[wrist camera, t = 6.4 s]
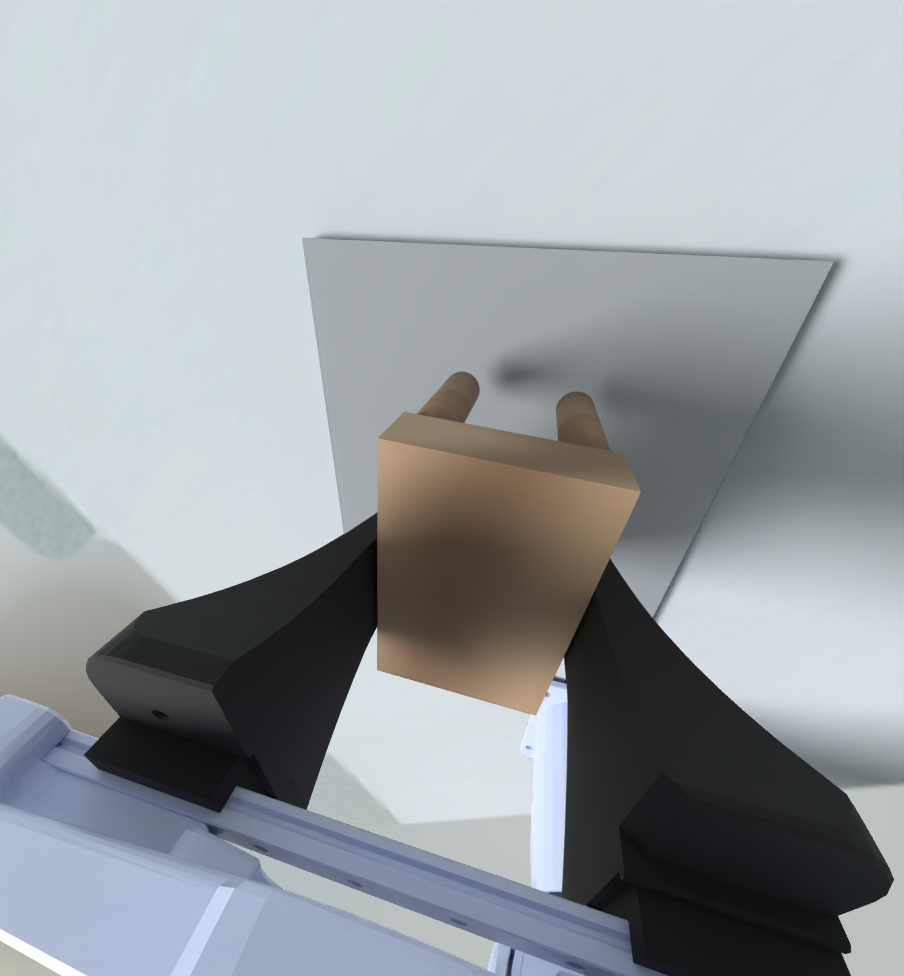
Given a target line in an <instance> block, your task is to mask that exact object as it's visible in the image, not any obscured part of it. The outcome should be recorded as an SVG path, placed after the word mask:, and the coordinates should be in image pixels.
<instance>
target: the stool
mask: <svg viewBox="0 0 904 976" xmlns="http://www.w3.org/2000/svg"><path fill="white" fill-rule="evenodd" d="M479 393H480V387H479V383H478V381H477V379H476V378H475V377H474V376H473V375H471V374H470V373H467V372H456V373H454V374H452V375H451V376H450V377H449V378H448V379H447V380H446V381H445V383H444V384H443V385H442V386H441V387H440V388H439V389H438V390H437V391H436V393H435V394H434V395H433V396H432V397H431V398H430V399H429V400H428V401H427V403H426V404H425V405H424V406H423V407H422V408H421V409H420V410H419V411H418V413H417V414H414V413H409V412H403V413H402V414H401V415H400V416H399V417H398V418H397V419H396V420H395V421H394V422H393V423H392V424H391V425H390V426H389V427H388V428H387V429H386V430H385V431H384V432H383V433H382V434H381V435H380V436H379V437H378V519H377V670H379V671H382V672H386V673H389V674H393V675H396V676H400V677H403V678H407V679H410V680H414V681H417V682H420V683H424V684H427V685H431V686H434V687H438V688H441V689H445V690H448V691H452V692H455V693H459V694H462V695H466V696H469V697H472V698H476V699H479V700H483V701H486V702H490V703H493V704H497V705H500V706H504V707H507V708H511V709H514V710H517V711H521V712H524V713H528V714H531V715H535V716H536V715H537V713H538V710H539V708H540V706H541V704H542V702H543V700H544V698H545V696H546V693H547V691H548V689H549V687H550V685H551V683H552V681H553V678H554V676H555V674H556V672H557V670H558V668H559V666H560V664H561V661H562V659H563V657H564V655H565V653H566V651H567V649H568V646H569V644H570V642H571V640H572V638H573V636H574V634H575V632H576V629H577V627H578V625H579V623H580V621H581V619H582V617H583V615H584V612H585V610H586V608H587V606H588V604H589V602H590V600H591V597H592V595H593V593H594V591H595V589H596V587H597V585H598V583H599V580H600V578H601V576H602V574H603V572H604V570H605V568H606V566H607V563H608V561H609V559H610V557H611V555H612V553H613V551H614V548H615V546H616V544H617V542H618V540H619V538H620V536H621V534H622V531H623V529H624V527H625V525H626V523H627V521H628V519H629V516H630V514H631V512H632V510H633V508H634V506H635V504H636V502H637V499H638V497H639V495H640V493H641V490H640V488H639V486H638V483H637V481H636V479H635V476H634V474H633V472H632V470H631V467H630V465H629V463H628V460H627V458H626V456H625V454H623V453H618V452H612V451H611V450H610V447H609V444H608V441H607V439H606V436H605V433H604V430H603V427H602V425H601V422H600V419H599V416H598V414H597V411H596V408H595V405H594V403H593V400H592V399H591V397H590V396H589V395H587V394H585V393H583V392H571V393H568V394H566V395H564V396H563V397H562V398H561V399H560V400H559V402H558V404H557V406H556V420H557V434H558V441H555V440H550V439H545V438H539V437H534V436H529V435H524V434H518V433H513V432H508V431H503V430H497V429H492V428H487V427H482V426H477V425H471V424H466V423H465V421H466V419H467V417H468V415H469V413H470V412H471V410H472V408H473V406H474V404H475V402H476V400H477V398H478V396H479Z"/></svg>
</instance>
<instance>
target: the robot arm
mask: <svg viewBox="0 0 904 976" xmlns="http://www.w3.org/2000/svg"><path fill="white" fill-rule="evenodd" d="M377 519H378V512H377V513H375V514H374V515H372V516H371V517H369V518H368V519H366V520H365V521H363V522H362V523H360V524H359V525H357V526H356V527H354V528H353V529H351V530H350V531H348V532H347V533H345V534H343V535H342V536H340V537H338V538H337V539H335V540H333V541H331V542H330V543H328V544H326V545H325V546H323V547H321V548H320V549H318V550H316V551H314V552H312V553H310V554H308V555H306V556H304V557H302V558H300V559H298V560H296V561H294V562H292V563H290V564H288V565H285V566H283V567H281V568H278V569H276V570H274V571H271V572H269V573H266V574H264V575H261V576H259V577H256V578H254V579H251V580H249V581H246V582H243V583H241V584H238V585H235V586H232V587H229V588H226V589H223V590H220V591H217V592H214V593H211V594H208V595H204V596H201V597H197V598H194V599H190V600H186V601H183V602H179V603H175V604H171V605H168V606H164V607H160V608H157V609H152V610H148V611H145V612H143V613H142V614H141V615H140V616H139V617H137V618H136V619H135V620H134V621H133V622H131V623H130V624H129V625H128V626H127V627H126V628H124V629H123V630H122V631H121V632H120V633H118V634H117V635H116V636H115V637H114V638H113V639H111V640H110V641H109V642H108V643H106V644H105V645H104V646H103V647H102V648H101V649H99V650H98V651H97V652H96V653H95V654H94V655H92V656H91V657H90V658H89V659H88V661H87V664H86V672H87V675H88V678H89V679H90V680H91V682H92V683H93V685H94V686H95V687H96V689H97V690H98V691H99V692H100V693H101V695H102V696H103V697H104V698H105V699H106V701H107V702H108V703H109V704H110V705H111V706H112V708H113V709H114V710H115V711H116V712H117V713H118V715H119V716H120V718H119V719H118V720H117V721H116V722H115V723H114V724H113V725H112V726H111V727H110V728H109V729H108V730H107V731H106V732H105V733H104V734H103V735H102V736H101V737H100V738H99V739H98V738H96V737H93V736H90V735H87V734H84V733H81V732H78V731H75V730H73V729H71V726H70V724H69V723H68V722H67V721H66V720H65V719H64V718H63V717H62V716H61V715H60V714H58V713H57V712H55V711H54V710H52V709H50V708H48V707H46V706H43V705H40V704H37V703H34V702H31V701H28V700H25V699H23V698H19V697H16V696H14V695H4V696H2V697H1V698H0V940H1V941H2V942H4V943H6V944H8V945H9V946H11V947H13V948H15V949H17V950H18V951H20V952H22V953H23V954H25V955H27V956H29V957H31V958H32V959H34V960H36V961H38V962H39V963H41V964H43V965H45V966H47V967H48V968H50V969H52V970H54V971H56V972H57V973H59V974H61V975H62V976H851V975H850V972H849V970H848V968H847V965H846V963H845V961H844V959H843V956H842V954H841V953H844V954H847V953H850V952H851V945H850V942H849V940H848V938H847V935H846V933H845V931H844V929H843V927H842V924H841V922H840V920H839V917H838V915H841V914H844V913H846V912H849V911H852V910H854V909H857V908H860V907H862V906H865V905H867V904H870V903H873V902H875V901H877V900H879V899H880V898H882V897H884V896H886V895H887V893H888V891H889V889H890V887H891V885H892V883H893V881H894V878H893V876H892V874H891V871H890V868H889V867H888V865H887V863H886V861H885V859H884V858H883V856H882V854H881V852H880V851H879V849H878V847H877V845H876V844H875V842H874V840H873V838H872V836H871V835H870V833H869V831H868V829H867V827H866V825H865V824H864V822H863V820H862V819H861V817H860V815H859V814H858V812H857V810H856V809H855V807H854V805H853V804H852V802H851V801H850V799H849V798H848V796H847V794H846V793H844V792H843V791H842V790H841V789H839V788H838V787H837V786H835V785H834V784H833V783H832V782H830V781H829V780H828V779H826V778H825V777H824V776H823V775H821V774H820V773H819V772H818V771H816V770H815V769H814V768H812V767H811V766H810V765H809V764H807V763H806V762H805V761H804V760H802V759H801V758H800V757H798V756H797V755H796V754H795V753H793V752H792V751H791V750H789V749H788V748H787V747H786V746H784V745H783V744H782V743H781V742H779V741H778V740H777V739H776V738H775V737H773V736H772V735H771V734H770V733H769V732H768V731H766V730H765V729H764V728H763V727H762V726H761V725H759V724H758V723H757V722H756V721H755V720H754V719H752V718H751V717H750V716H749V715H748V714H747V713H745V712H744V711H743V710H742V709H741V708H740V707H739V706H738V705H737V704H735V703H734V702H733V701H732V700H731V699H730V698H729V697H728V696H727V695H725V694H724V693H723V692H722V691H721V690H720V689H719V688H718V687H717V686H716V685H715V684H714V683H713V682H712V681H711V680H710V679H709V678H708V677H707V676H706V675H705V674H704V673H703V672H702V671H700V670H699V669H698V668H697V667H696V666H695V665H694V664H693V662H692V661H691V660H690V659H689V658H688V657H687V656H686V655H685V654H684V653H683V652H682V651H681V650H680V649H679V648H678V647H677V645H676V644H675V643H674V642H673V641H672V640H671V639H670V638H669V637H668V636H667V634H666V633H665V632H664V631H663V630H662V629H661V628H660V626H659V625H658V624H657V623H656V622H655V620H654V619H653V618H652V617H651V615H650V614H649V613H648V611H647V610H646V609H645V608H644V606H643V605H642V604H641V602H640V601H639V600H638V598H637V597H636V596H635V594H634V593H633V591H632V590H631V588H630V587H629V586H628V584H627V583H626V581H625V580H624V578H623V577H622V575H621V574H620V572H619V571H618V569H617V568H616V566H615V565H614V563H613V562H612V560H611V558H610V559H609V561H608V563H607V566H606V568H605V570H604V572H603V574H602V576H601V578H600V580H599V583H598V585H597V587H596V589H595V591H594V593H593V595H592V597H591V600H590V602H589V604H588V606H587V608H586V610H585V612H584V615H583V617H582V619H581V621H580V623H579V625H578V627H577V629H576V632H575V634H574V636H573V638H572V640H571V642H570V644H569V646H568V649H567V651H566V653H565V655H564V662H565V673H566V684H565V683H561V682H557V681H552V683H551V685H550V687H549V689H548V691H547V693H546V696H545V698H544V700H543V702H542V704H541V706H540V708H539V710H538V713H537V715H536V716H535V715H531V714H530V718H529V721H528V724H527V727H526V731H525V734H524V737H523V740H522V744H521V747H520V753H521V754H522V755H523V756H525V757H528V758H531V759H534V763H533V791H532V819H531V848H530V860H531V887H528V886H526V885H523V884H520V883H517V882H514V881H511V880H508V879H505V878H502V877H500V876H497V875H493V874H491V873H488V872H485V871H482V870H479V869H476V868H473V867H470V866H468V865H465V864H462V863H459V862H456V861H453V860H450V859H447V858H444V857H441V856H439V855H436V854H433V853H430V852H427V851H424V850H421V849H418V848H415V847H412V846H409V845H406V844H404V843H401V842H398V841H395V840H392V839H389V838H386V837H383V836H380V835H378V834H375V833H372V832H369V831H366V830H363V829H360V828H357V827H354V826H351V825H349V824H345V823H343V822H340V821H337V820H334V819H331V818H328V817H325V816H322V815H319V814H317V813H314V812H310V811H308V810H307V807H308V804H309V800H310V798H311V795H312V792H313V789H314V786H315V783H316V780H317V777H318V774H319V771H320V768H321V765H322V762H323V760H324V757H325V754H326V751H327V748H328V745H329V743H330V740H331V737H332V734H333V732H334V729H335V726H336V723H337V721H338V718H339V715H340V713H341V710H342V707H343V705H344V702H345V700H346V697H347V694H348V692H349V689H350V687H351V684H352V682H353V679H354V677H355V674H356V672H357V669H358V667H359V664H360V662H361V660H362V657H363V655H364V652H365V650H366V648H367V646H368V644H369V642H370V639H371V637H372V635H373V634H374V632H375V630H376V628H377ZM220 838H221V839H220ZM222 839H223V840H222ZM224 840H226V841H229V842H232V843H234V844H237V845H239V846H242V847H245V848H247V849H250V850H253V851H255V852H258V853H261V854H263V855H266V856H269V857H271V858H274V859H277V860H279V861H282V862H284V863H287V864H290V865H293V866H295V867H298V868H300V869H303V870H306V871H308V872H311V873H314V874H317V875H319V876H322V877H325V878H327V879H330V880H332V881H335V882H338V883H341V884H343V885H346V886H348V887H351V888H354V889H356V890H359V891H362V892H364V893H367V894H370V895H372V896H375V897H378V898H380V899H383V900H386V901H388V902H391V903H393V904H396V905H399V906H402V907H404V908H407V909H410V910H412V911H415V912H417V913H420V914H423V915H426V916H428V917H431V918H433V919H436V920H439V921H441V922H444V923H447V924H449V925H452V926H455V927H457V928H460V929H463V930H465V931H468V932H471V933H473V934H476V935H479V936H481V937H484V938H487V939H490V940H492V941H495V944H494V947H493V950H492V953H491V956H490V960H489V965H488V969H487V970H486V969H483V968H481V967H479V966H477V965H474V964H472V963H470V962H468V961H465V960H464V959H461V958H459V957H456V956H455V955H452V954H450V953H448V952H445V951H443V950H441V949H439V948H436V947H434V946H431V945H429V944H427V943H424V942H422V941H419V940H417V939H414V938H412V937H410V936H407V935H405V934H403V933H400V932H398V931H395V930H393V929H390V928H387V927H385V926H382V925H380V924H377V923H375V922H372V921H370V920H367V919H365V918H362V917H359V916H357V915H354V914H352V913H349V912H346V911H343V910H341V909H338V908H335V907H332V906H330V905H327V904H324V903H321V902H318V901H316V900H313V899H310V898H307V897H304V896H301V895H298V894H295V893H292V892H289V891H286V890H283V889H282V888H281V887H280V886H278V885H277V884H276V883H275V882H273V881H272V880H271V879H270V878H269V877H268V876H267V875H266V874H265V872H264V871H263V870H262V869H261V866H260V861H259V859H258V858H256V857H254V856H252V855H250V854H248V853H246V852H245V851H243V850H241V849H238V848H237V847H235V846H233V845H231V844H229V843H228V842H226V841H224Z"/></svg>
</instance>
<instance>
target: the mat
mask: <svg viewBox="0 0 904 976" xmlns="http://www.w3.org/2000/svg"><path fill="white" fill-rule="evenodd" d="M302 240H303V247H304V254H305V262H306V269H307V276H308V283H309V290H310V297H311V304H312V311H313V318H314V325H315V332H316V339H317V346H318V353H319V360H320V368H321V375H322V382H323V389H324V396H325V403H326V410H327V417H328V424H329V431H330V438H331V445H332V452H333V459H334V467H335V474H336V481H337V488H338V495H339V502H340V509H341V516H342V523H343V530H344V534H345V533H347V532H348V531H350V530H351V529H353V528H354V527H356V526H357V525H359V524H360V523H362V522H363V521H365V520H366V519H368V518H369V517H371V516H372V515H374V514H375V513H377V512H378V437H379V436H380V435H381V434H382V433H383V432H384V431H385V430H386V429H387V428H388V427H389V426H390V425H391V424H392V423H393V422H394V421H395V420H396V419H397V418H398V417H399V416H400V415H401V414H402V413H403V412H409V413H414V414H417V413H418V411H419V410H420V409H421V408H422V407H423V406H424V405H425V404H426V403H427V401H428V400H429V399H430V398H431V397H432V396H433V395H434V394H435V393H436V391H437V390H438V389H439V388H440V387H441V386H442V385H443V384H444V383H445V381H446V380H447V379H448V378H449V377H450V376H451V375H452V374H454V373H456V372H467V373H470V374H471V375H473V376H474V377H475V378H476V379H477V381H478V383H479V387H480V393H479V396H478V398H477V400H476V402H475V404H474V406H473V408H472V410H471V412H470V413H469V415H468V417H467V419H466V421H465V423H466V424H471V425H477V426H482V427H487V428H492V429H497V430H503V431H508V432H513V433H518V434H524V435H529V436H534V437H539V438H545V439H550V440H555V441H558V434H557V420H556V406H557V404H558V402H559V400H560V399H561V398H562V397H563V396H564V395H566V394H568V393H571V392H583V393H585V394H587V395H589V396H590V397H591V399H592V400H593V403H594V405H595V408H596V411H597V414H598V416H599V419H600V422H601V425H602V427H603V430H604V433H605V436H606V439H607V441H608V444H609V447H610V450H611V451H612V452H618V453H623V454H625V456H626V458H627V460H628V463H629V465H630V467H631V470H632V472H633V474H634V476H635V479H636V481H637V483H638V486H639V488H640V490H641V493H640V495H639V497H638V499H637V502H636V504H635V506H634V508H633V510H632V512H631V514H630V516H629V519H628V521H627V523H626V525H625V527H624V529H623V531H622V534H621V536H620V538H619V540H618V542H617V544H616V546H615V548H614V551H613V553H612V555H611V557H610V558H611V560H612V562H613V563H614V565H615V566H616V568H617V569H618V571H619V572H620V574H621V575H622V577H623V578H624V580H625V581H626V583H627V584H628V586H629V587H630V588H631V590H632V591H633V593H634V594H635V596H636V597H637V598H638V600H639V601H640V602H641V604H642V605H643V606H644V608H645V609H646V610H647V611H648V613H649V614H650V615H651V617H652V618H653V616H654V614H655V612H656V610H657V608H658V606H659V604H660V602H661V600H662V598H663V596H664V594H665V592H666V590H667V588H668V586H669V584H670V582H671V580H672V578H673V576H674V574H675V572H676V571H677V569H678V567H679V565H680V563H681V561H682V559H683V557H684V555H685V553H686V551H687V549H688V547H689V545H690V543H691V541H692V539H693V537H694V535H695V533H696V531H697V529H698V527H699V525H700V523H701V521H702V520H703V518H704V516H705V514H706V512H707V510H708V508H709V506H710V504H711V502H712V500H713V498H714V496H715V494H716V492H717V490H718V488H719V486H720V484H721V482H722V480H723V478H724V476H725V474H726V472H727V471H728V469H729V467H730V465H731V463H732V461H733V459H734V457H735V455H736V453H737V451H738V449H739V447H740V445H741V443H742V441H743V439H744V437H745V435H746V433H747V431H748V429H749V427H750V425H751V423H752V421H753V420H754V418H755V416H756V414H757V412H758V410H759V408H760V406H761V404H762V402H763V400H764V398H765V396H766V394H767V392H768V390H769V388H770V386H771V384H772V382H773V380H774V378H775V376H776V374H777V372H778V371H779V369H780V367H781V365H782V363H783V361H784V359H785V357H786V355H787V353H788V351H789V349H790V347H791V345H792V343H793V341H794V339H795V337H796V335H797V333H798V331H799V329H800V327H801V325H802V323H803V322H804V320H805V318H806V316H807V314H808V312H809V310H810V308H811V306H812V304H813V302H814V300H815V298H816V296H817V294H818V292H819V290H820V288H821V286H822V284H823V282H824V280H825V278H826V276H827V274H828V272H829V271H830V269H831V267H832V265H833V263H834V261H814V260H792V259H769V258H747V257H724V256H701V255H679V254H656V253H634V252H611V251H589V250H566V249H544V248H521V247H499V246H476V245H453V244H431V243H408V242H386V241H363V240H341V239H318V238H302Z"/></svg>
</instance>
